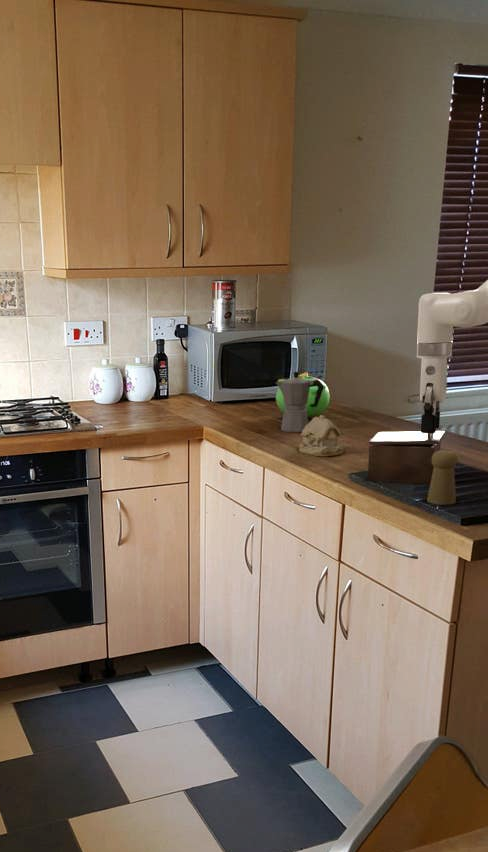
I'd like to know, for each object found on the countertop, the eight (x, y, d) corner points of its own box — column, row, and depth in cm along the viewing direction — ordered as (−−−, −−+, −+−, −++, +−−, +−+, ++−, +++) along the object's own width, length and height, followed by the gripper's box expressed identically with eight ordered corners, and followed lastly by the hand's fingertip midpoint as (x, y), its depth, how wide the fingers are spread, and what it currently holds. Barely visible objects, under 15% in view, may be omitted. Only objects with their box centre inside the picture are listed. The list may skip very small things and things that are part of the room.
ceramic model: (290, 449, 245) (291, 414, 242) (324, 445, 249) (325, 410, 246) (319, 458, 233) (320, 420, 230) (353, 453, 237) (355, 416, 234)
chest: (438, 474, 211) (440, 438, 208) (431, 486, 200) (434, 448, 197) (377, 471, 216) (378, 435, 213) (367, 482, 205) (369, 445, 202)
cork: (447, 498, 189) (451, 447, 185) (461, 505, 183) (465, 453, 180) (421, 500, 188) (425, 449, 184) (434, 507, 182) (438, 455, 179)
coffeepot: (270, 431, 274) (270, 372, 268) (280, 426, 282) (281, 369, 276) (317, 434, 267) (319, 374, 261) (326, 429, 275) (328, 370, 269)
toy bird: (330, 414, 303) (331, 370, 298) (327, 422, 287) (328, 376, 283) (278, 413, 307) (278, 371, 302) (272, 421, 291) (273, 376, 287)
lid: (444, 434, 207) (445, 411, 205) (438, 444, 196) (438, 419, 195) (378, 435, 213) (378, 413, 212) (369, 444, 202) (368, 421, 201)
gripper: (447, 353, 187) (442, 437, 193) (455, 347, 202) (451, 425, 208) (411, 354, 190) (407, 436, 196) (422, 347, 205) (418, 424, 211)
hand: (430, 429), depth 202 cm, fingers closed on lid, 6 cm apart
